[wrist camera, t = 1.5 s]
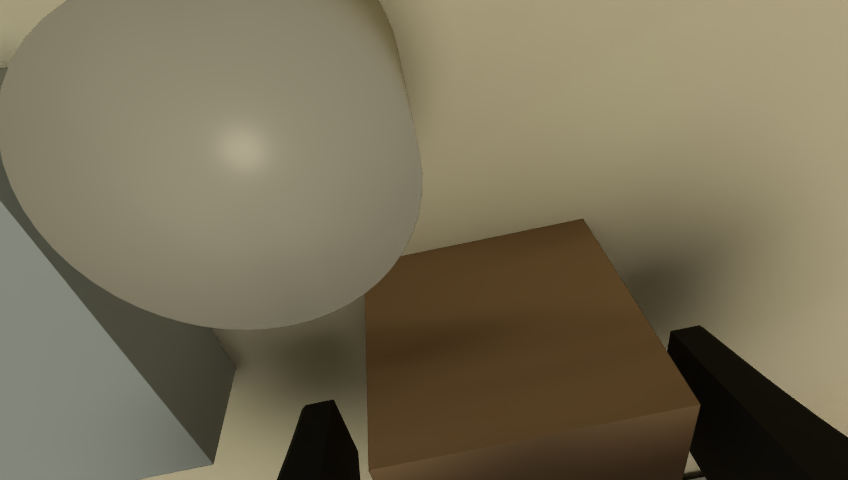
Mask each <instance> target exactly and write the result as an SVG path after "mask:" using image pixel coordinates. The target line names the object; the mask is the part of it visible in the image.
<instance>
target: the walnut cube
mask: <svg viewBox="0 0 848 480" xmlns="http://www.w3.org/2000/svg"><path fill="white" fill-rule="evenodd" d="M365 318H366V367H367V416H368V465H369V472H370V475H371V477H372V479H373V480H682V478H683V474H684V470H685V466H686V462H687V458H688V454H689V450H690V446H691V442H692V438H693V433H694V429H695V425H696V421H697V417H698V413H699V409H700V403H699V401H698V400H697V398H696V397H695V395H694V394H693V392H692V390H691V389H690V387H689V386H688V384H687V382H686V381H685V379H684V378H683V376H682V375H681V373H680V371H679V370H678V368H677V367H676V365H675V364H674V362H673V360H672V359H671V357H670V356H669V354H668V352H667V351H666V349H665V348H664V346H663V345H662V343H661V341H660V340H659V338H658V337H657V335H656V333H655V332H654V330H653V329H652V327H651V326H650V324H649V322H648V321H647V319H646V318H645V316H644V315H643V313H642V311H641V310H640V308H639V307H638V305H637V303H636V302H635V300H634V299H633V297H632V296H631V294H630V292H629V291H628V289H627V288H626V286H625V284H624V283H623V281H622V280H621V278H620V277H619V275H618V273H617V272H616V270H615V269H614V267H613V266H612V264H611V262H610V261H609V259H608V258H607V256H606V254H605V253H604V251H603V250H602V248H601V247H600V245H599V243H598V242H597V240H596V239H595V237H594V236H593V234H592V232H591V231H590V229H589V228H588V226H587V224H586V223H585V221H584V220H583V219H580V220H575V221H570V222H565V223H560V224H555V225H551V226H546V227H541V228H536V229H531V230H526V231H521V232H517V233H512V234H507V235H502V236H497V237H492V238H487V239H483V240H478V241H473V242H468V243H463V244H458V245H453V246H449V247H444V248H439V249H434V250H429V251H424V252H420V253H415V254H410V255H405V256H400V257H399V259H398V260H397V261H396V263H395V264H394V266H393V267H392V268H391V269H390V271H389V272H388V273H387V274H386V275H385V276H384V277H383V278H382V279H381V280H380V281H379V282H378V283H377V284H376V285H375V286H373V287H372V288H371V289H370V290H369V291H367V292H366V293H365Z"/></svg>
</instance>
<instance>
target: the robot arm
mask: <svg viewBox="0 0 848 480" xmlns="http://www.w3.org/2000/svg"><path fill="white" fill-rule="evenodd" d="M667 352H668V354H669V356H670V357H671V359H672V360H673V362H674V364H675V365H676V367H677V368H678V370H679V371H680V373H681V375H682V376H683V378H684V379H685V381H686V382H687V384H688V386H689V387H690V389H691V390H692V392H693V394H694V395H695V397H696V398H697V400H698V401H699V403H700V409H699V413H698V417H697V421H696V425H695V429H694V433H693V438H692V442H691V446H690V450H689V451H690V453H691V454H692V456H693V458H694V459H695V461H696V463H697V464H698V466H699V468H700V470H701V471H702V473H703V475H704V476H705V477H700V478H695V479H690V480H848V437H846V436H845V435H844V434H842V433H841V432H839V431H838V430H836V429H835V428H833V427H832V426H831V425H829V424H828V423H826V422H825V421H824V420H822V419H821V418H819V417H818V416H817V415H815V414H814V413H813V412H811V411H810V410H809V409H807V408H806V407H804V406H803V405H802V404H800V403H799V402H798V401H796V400H795V399H794V398H792V397H791V396H790V395H788V394H787V393H786V392H784V391H783V390H782V389H780V388H779V387H778V386H776V385H775V384H774V383H772V382H771V381H770V380H769V379H767V378H766V377H765V376H763V375H762V374H761V373H760V372H758V371H757V370H756V369H754V368H753V367H752V366H751V365H749V364H748V363H747V362H746V361H744V360H743V359H742V358H741V357H739V356H738V355H737V354H735V353H734V352H733V351H732V350H730V349H729V348H728V347H727V346H726V345H724V344H723V343H722V342H721V341H719V340H718V339H717V338H716V337H714V336H713V335H712V334H711V333H709V332H708V331H707V330H706V329H704V328H703V327H701V326H700V325H699V326H694V327H689V328H684V329H679V330H674V331H671V332H670V338H669V344H668V350H667ZM277 480H360V471H359V458H358V450H357V448H356V446H355V444H354V442H353V440H352V438H351V435H350V433H349V431H348V429H347V427H346V425H345V423H344V421H343V418H342V416H341V414H340V412H339V410H338V408H337V406H336V403H335V401H334V399H333V400H329V401H324V402H319V403H314V404H309V405H305V407H304V408H303V409H302V411H301V414H300V417H299V420H298V423H297V426H296V429H295V432H294V435H293V438H292V441H291V444H290V446H289V449H288V452H287V455H286V457H285V460H284V462H283V465H282V468H281V470H280V473H279V476H278V478H277Z"/></svg>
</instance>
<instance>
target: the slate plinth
mask: <svg viewBox="0 0 848 480" xmlns="http://www.w3.org/2000/svg"><path fill="white" fill-rule="evenodd" d="M7 69H8V67H5V68H0V91H1V86H2V83H3V80H4V78H5V75H6V72H7ZM234 374H235V367H234V366H233V364H232V363H231V361H230V359H229V358H228V356H227V355H226V353H225V351H224V350H223V348H222V346H221V345H220V343H219V342H218V340H217V338H216V337H215V335H214V334H213V332H212V330H211V329H210V327H203V326H198V325H193V324H189V323H184V322H180V321H176V320H173V319H170V318H166V317H163V316H159V315H157V314H154V313H152V312H149V311H147V310H144V309H142V308H139V307H137V306H135V305H133V304H130V303H128V302H126V301H124V300H122V299H120V298H118V297H116V296H114V295H113V294H111V293H110V292H108V291H106V290H105V289H103V288H101V287H100V286H98V285H97V284H95V283H93V282H92V281H91V280H89V279H88V278H87V277H85V276H84V275H83V274H81V273H80V272H79V271H77V270H76V269H75V268H73V267H72V266H71V265H70V264H69V263H68V262H67V261H66V260H65V259H64V258H63V257H61V256H60V255H59V254H58V253H57V252H56V251H55V250H54V249H53V248H52V247H51V245H50V244H49V243H48V242H47V241H46V240H45V239H44V237H43V236H42V235H41V234H40V233H39V232H38V231H37V229H36V228H35V226H34V225H33V223H32V222H31V220H30V219H29V218H28V216H27V215H26V213H25V212H24V210H23V209H22V207H21V205H20V203H19V201H18V199H17V197H16V195H15V193H14V191H13V189H12V188H11V185H10V182H9V179H8V177H7V174H6V171H5V168H4V165H3V162H2V157H1V152H0V480H138V479H143V478H148V477H153V476H158V475H163V474H168V473H173V472H178V471H183V470H188V469H193V468H198V467H203V466H208V465H213V464H214V460H215V456H216V451H217V447H218V443H219V438H220V434H221V430H222V425H223V421H224V417H225V413H226V408H227V404H228V400H229V395H230V391H231V387H232V382H233V378H234Z"/></svg>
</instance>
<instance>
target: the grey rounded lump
mask: <svg viewBox="0 0 848 480" xmlns="http://www.w3.org/2000/svg"><path fill="white" fill-rule="evenodd" d="M0 152H1V157H2V162H3V165H4V168H5V171H6V174H7V177H8V179H9V182H10V185H11V188H12V189H13V191H14V193H15V195H16V197H17V199H18V201H19V203H20V205H21V207H22V209H23V210H24V212H25V213H26V215H27V216H28V218H29V219H30V220H31V222H32V223H33V225H34V226H35V228H36V229H37V231H38V232H39V233H40V234H41V235H42V236H43V237H44V239H45V240H46V241H47V242H48V243H49V244H50V245H51V247H52V248H53V249H54V250H55V251H56V252H57V253H58V254H59V255H60V256H61V257H63V258H64V259H65V260H66V261H67V262H68V263H69V264H70V265H71V266H72V267H73V268H75V269H76V270H77V271H79V272H80V273H81V274H83V275H84V276H85V277H87V278H88V279H89V280H91V281H92V282H93V283H95V284H97V285H98V286H100V287H101V288H103V289H105V290H106V291H108V292H110V293H111V294H113V295H114V296H116V297H118V298H120V299H122V300H124V301H126V302H128V303H130V304H133V305H135V306H137V307H139V308H142V309H144V310H147V311H149V312H152V313H154V314H157V315H159V316H163V317H166V318H170V319H173V320H176V321H180V322H184V323H189V324H193V325H198V326H203V327H211V328H219V329H230V330H258V329H272V328H279V327H285V326H292V325H296V324H299V323H303V322H307V321H311V320H314V319H317V318H319V317H322V316H325V315H328V314H330V313H332V312H334V311H336V310H338V309H340V308H342V307H344V306H346V305H348V304H350V303H351V302H353V301H355V300H356V299H358V298H359V297H361V296H362V295H364V294H365V293H366V292H367V291H369V290H370V289H371V288H372V287H373V286H375V285H376V284H377V283H378V282H379V281H380V280H381V279H382V278H383V277H384V276H385V275H386V274H387V273H388V272H389V271H390V269H391V268H392V267H393V266H394V264H395V263H396V261H397V260H398V259H399V257H400V256H401V254H402V253H403V251H404V249H405V247H406V245H407V243H408V241H409V239H410V237H411V235H412V233H413V230H414V227H415V224H416V221H417V218H418V214H419V208H420V202H421V196H422V168H421V161H420V153H419V147H418V143H417V138H416V133H415V129H414V124H413V119H412V114H411V110H410V105H409V100H408V96H407V91H406V86H405V82H404V77H403V72H402V68H401V63H400V58H399V53H398V49H397V45H396V41H395V37H394V34H393V30H392V28H391V25H390V23H389V20H388V18H387V16H386V13H385V12H384V10H383V8H382V6H381V4H380V3H379V1H378V0H67V1H66V2H64V3H63V4H62V5H60V6H59V7H58V8H56V9H55V10H54V11H52V12H51V13H49V14H48V15H47V16H45V17H44V18H43V19H42V20H41V21H40V22H39V23H38V24H37V25H36V27H35V28H34V29H33V30H32V31H31V32H30V33H29V34H28V35H27V36H26V37H25V39H24V40H23V42H22V43H21V45H20V47H19V48H18V50H17V51H16V53H15V55H14V56H13V58H12V60H11V61H10V64H9V66H8V69H7V72H6V75H5V78H4V80H3V83H2V86H1V91H0Z"/></svg>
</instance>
